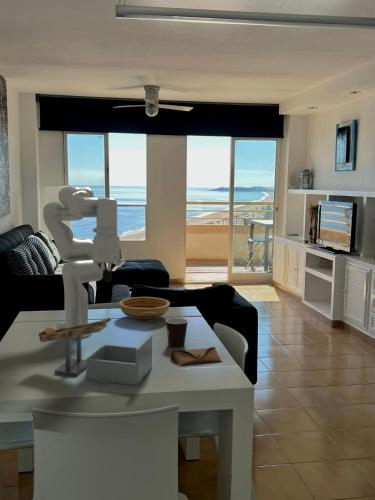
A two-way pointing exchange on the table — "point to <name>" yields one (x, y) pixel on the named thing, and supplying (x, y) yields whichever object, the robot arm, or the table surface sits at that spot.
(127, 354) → the bin
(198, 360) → the sunglasses case
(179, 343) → the coffee mug
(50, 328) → the ball
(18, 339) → the table surface
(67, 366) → the launcher stand
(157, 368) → the table surface
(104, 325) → the chute
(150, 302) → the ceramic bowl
